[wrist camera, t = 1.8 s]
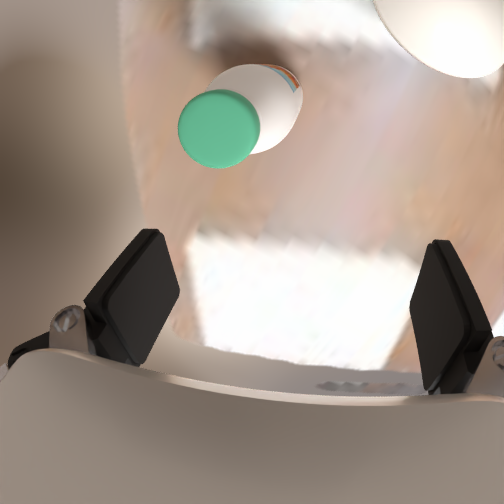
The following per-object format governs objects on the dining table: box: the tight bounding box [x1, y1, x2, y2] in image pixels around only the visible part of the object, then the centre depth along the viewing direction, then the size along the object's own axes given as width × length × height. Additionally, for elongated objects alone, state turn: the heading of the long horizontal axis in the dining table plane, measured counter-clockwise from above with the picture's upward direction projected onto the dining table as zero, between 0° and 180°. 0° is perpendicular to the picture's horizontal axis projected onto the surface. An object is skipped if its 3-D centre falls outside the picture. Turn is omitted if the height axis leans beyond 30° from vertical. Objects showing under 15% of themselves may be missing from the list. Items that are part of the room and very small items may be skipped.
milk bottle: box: [178, 64, 303, 168], centre depth 23 cm, size 8×8×20 cm
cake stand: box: [373, 0, 504, 78], centre depth 17 cm, size 15×15×8 cm
